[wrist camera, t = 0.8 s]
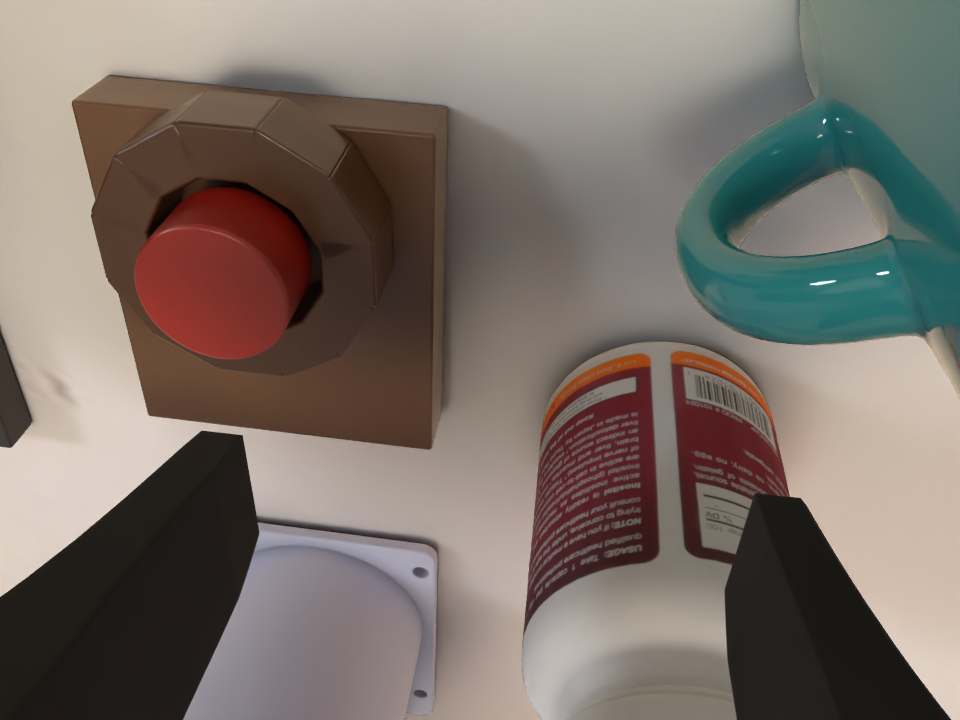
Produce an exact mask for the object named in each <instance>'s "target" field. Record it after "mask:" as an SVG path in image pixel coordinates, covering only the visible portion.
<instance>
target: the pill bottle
mask: <svg viewBox="0 0 960 720" xmlns="http://www.w3.org/2000/svg"><path fill="white" fill-rule="evenodd" d="M755 493H759V494H768V495H777V496H786V497H790V495H789V491H788V487H787V482H786V477H785V473H784V468H783V464H782V459H781V455H780V450H779V446H778V442H777V437H776V432H775V428H774V424H773V420H772V417H771V414H770V411H769V408H768V406H767V403H766V401H765V399H764V397H763V395H762V393H761V392H760V390H759V389H758V387H757V386H756V384H755V383H754V382H753V381H752V380H751V378H750V377H749V376H748V375H747V374H746V373H745V372H744V371H743V370H741V369H740V368H739V367H738V366H736V365H735V364H734V363H732V362H731V361H729V360H728V359H726V358H724V357H722V356H720V355H719V354H717V353H714V352H712V351H710V350H707V349H705V348H702V347H698V346H694V345H690V344H684V343H677V342H642V343H635V344H629V345H625V346H622V347H618V348H615V349H612V350H609V351H606V352H604V353H601V354H599V355H597V356H595V357H593V358H591V359H589V360H588V361H586V362H585V363H583V364H581V365H580V366H579V367H577V368H576V369H575V370H574V371H572V372H571V373H570V374H569V375H568V376H567V377H566V378H565V379H564V380H563V382H562V383H561V384H560V385H559V386H558V388H557V389H556V391H555V392H554V394H553V395H552V397H551V399H550V402H549V404H548V406H547V409H546V412H545V416H544V421H543V427H542V432H541V442H540V455H539V466H538V478H537V490H536V501H535V511H534V523H533V535H532V543H531V557H530V563H529V575H528V590H527V602H526V611H525V623H524V633H523V646H522V650H523V651H522V672H523V680H524V684H525V688H526V691H527V694H528V698H529V700H530V702H531V704H532V706H533V708H534V709H535V711H536V713H537V714H538V716H539V717H540V719H541V720H737V717H736V711H735V705H734V699H733V693H732V686H731V680H730V674H729V667H728V661H727V643H726V622H725V593H724V590H725V586H726V583H727V580H728V577H729V574H730V570H731V567H732V564H733V561H734V558H735V554H736V551H737V548H738V545H739V542H740V538H741V535H742V532H743V529H744V526H745V522H746V519H747V516H748V513H749V510H750V506H751V503H752V500H753V497H754V494H755Z"/></svg>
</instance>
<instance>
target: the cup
mask: <svg viewBox="0 0 960 720" xmlns="http://www.w3.org/2000/svg"><path fill="white" fill-rule="evenodd" d="M799 28H800V44H801V50H802V57H803V63H804V68H805V71H806V75H807V79H808V83H809V86H810V88H811V91H812V94H813V96H814V100H813V101H811V102H810V103H808V104H806V105H804V106H803V107H801V108H799V109H797V110H795V111H793V112H791V113H789V114H788V115H786V116H784V117H782V118H780V119H778V120H777V121H775V122H773V123H771V124H769V125H768V126H766V127H764V128H763V129H761V130H760V131H758V132H756V133H755V134H753V135H752V136H750V137H749V138H747V139H746V140H744V141H743V142H742V143H740V144H739V145H738V146H736V147H735V148H734V149H732V150H731V151H730V152H729V153H727V154H726V155H725V156H724V157H722V158H721V159H720V160H719V161H718V162H717V163H716V164H715V165H714V166H713V167H712V168H711V169H710V170H709V171H708V172H707V173H706V174H705V175H704V176H703V178H702V179H701V180H700V181H699V182H698V184H697V185H696V187H695V188H694V190H693V191H692V193H691V194H690V196H689V197H688V199H687V200H686V202H685V204H684V206H683V207H682V209H681V212H680V214H679V217H678V220H677V224H676V234H675V253H676V259H677V262H678V266H679V269H680V273H681V275H682V278H683V281H684V282H685V284H686V286H687V287H688V289H689V290H690V292H691V294H692V295H693V297H694V298H695V300H696V302H697V303H698V304H699V305H700V306H701V307H702V308H703V309H704V310H705V311H706V312H708V313H709V314H710V315H711V316H713V317H714V318H715V319H716V320H718V321H719V322H720V323H722V324H723V325H725V326H727V327H728V328H730V329H732V330H734V331H737V332H739V333H741V334H744V335H747V336H750V337H753V338H757V339H761V340H766V341H771V342H777V343H786V344H801V345H831V344H845V343H856V342H864V341H872V340H879V339H887V338H894V337H902V336H919V337H921V338H922V339H924V340H925V341H926V343H927V344H928V345H929V346H930V348H931V349H932V351H933V352H934V354H935V356H936V357H937V359H938V361H939V363H940V364H941V366H942V368H943V370H944V371H945V373H946V375H947V377H948V379H949V380H950V382H951V384H952V386H953V387H954V389H955V391H956V393H957V395H958V397H959V399H960V0H800V18H799ZM839 173H843V174H845V175H846V176H847V177H848V178H849V180H850V181H851V182H852V184H853V185H854V187H855V189H856V190H857V192H858V194H859V195H860V197H861V199H862V200H863V202H864V204H865V206H866V208H867V210H868V212H869V214H870V216H871V218H872V220H873V222H874V224H875V226H876V228H877V230H878V232H879V234H880V236H881V238H882V239H881V240H879V241H876V242H873V243H870V244H867V245H863V246H859V247H855V248H851V249H846V250H841V251H836V252H830V253H823V254H817V255H807V256H792V257H773V256H763V255H758V254H753V253H750V252H747V251H744V250H742V249H740V247H741V245H742V243H743V241H744V239H745V238H746V236H747V235H748V233H749V232H750V231H751V230H752V228H753V227H754V226H755V225H756V224H757V223H758V222H759V221H760V220H761V219H763V218H764V217H765V216H766V215H767V214H768V213H770V212H771V211H772V210H773V209H775V208H776V207H777V206H779V205H780V204H782V203H783V202H785V201H786V200H787V199H789V198H791V197H792V196H794V195H795V194H797V193H799V192H800V191H802V190H804V189H806V188H808V187H809V186H811V185H813V184H815V183H817V182H819V181H821V180H824V179H826V178H828V177H830V176H833V175H836V174H839Z"/></svg>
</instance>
